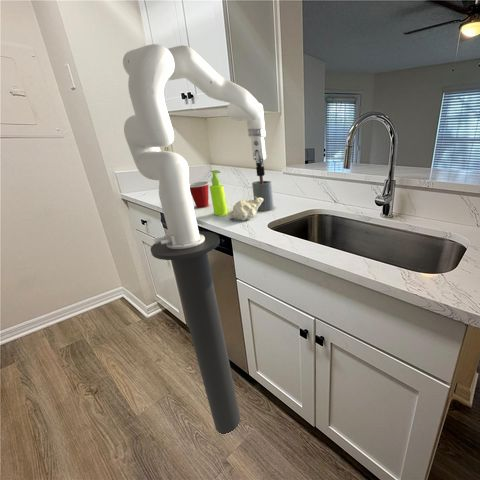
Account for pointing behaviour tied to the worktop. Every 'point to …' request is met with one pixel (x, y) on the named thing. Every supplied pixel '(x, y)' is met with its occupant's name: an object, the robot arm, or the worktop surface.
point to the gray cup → (263, 194)
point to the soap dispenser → (218, 195)
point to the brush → (261, 179)
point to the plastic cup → (200, 193)
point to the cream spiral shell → (245, 209)
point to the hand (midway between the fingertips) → (260, 175)
